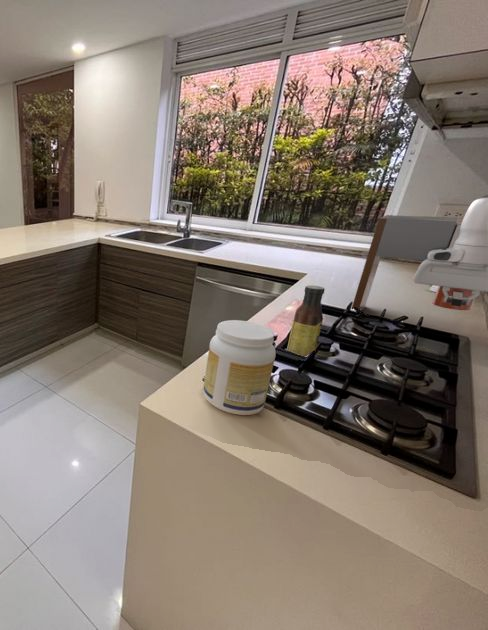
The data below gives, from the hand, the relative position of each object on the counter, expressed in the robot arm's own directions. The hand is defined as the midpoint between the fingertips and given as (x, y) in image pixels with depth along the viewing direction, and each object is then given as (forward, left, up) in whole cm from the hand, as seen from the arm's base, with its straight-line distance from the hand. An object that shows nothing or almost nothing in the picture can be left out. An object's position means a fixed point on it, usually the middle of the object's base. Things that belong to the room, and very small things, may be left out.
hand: (455, 303), depth 97 cm
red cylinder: (0, -8, -4) cm, 9 cm away
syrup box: (+2, -71, -12) cm, 72 cm away
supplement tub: (+30, +76, -12) cm, 82 cm away
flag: (+14, -14, -12) cm, 23 cm away
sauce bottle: (+26, +43, -12) cm, 51 cm away
